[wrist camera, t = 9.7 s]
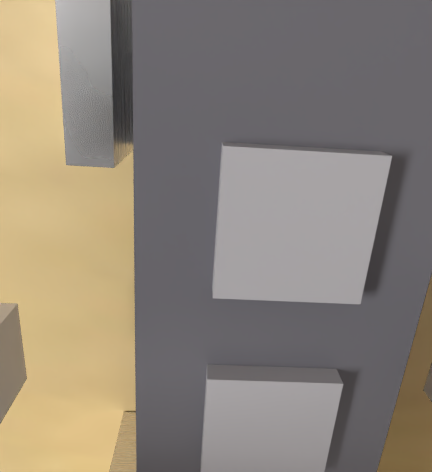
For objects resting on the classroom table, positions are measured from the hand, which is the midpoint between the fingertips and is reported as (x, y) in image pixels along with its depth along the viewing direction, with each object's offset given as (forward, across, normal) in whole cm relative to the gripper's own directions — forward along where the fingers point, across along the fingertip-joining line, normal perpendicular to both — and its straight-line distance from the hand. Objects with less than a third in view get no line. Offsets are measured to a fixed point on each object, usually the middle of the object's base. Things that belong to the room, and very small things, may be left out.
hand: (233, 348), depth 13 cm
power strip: (+1, 0, 0) cm, 2 cm away
